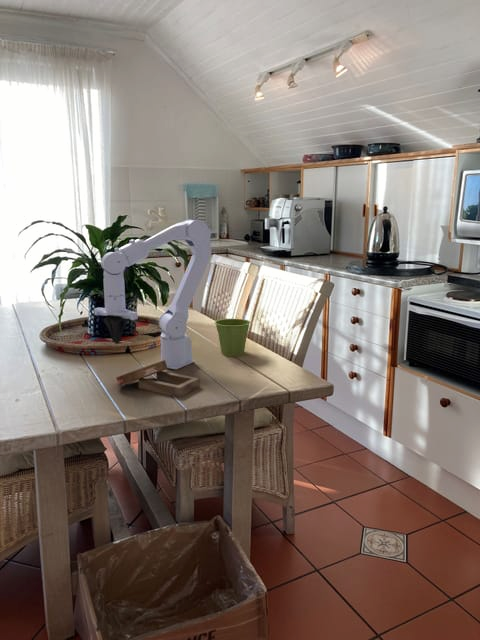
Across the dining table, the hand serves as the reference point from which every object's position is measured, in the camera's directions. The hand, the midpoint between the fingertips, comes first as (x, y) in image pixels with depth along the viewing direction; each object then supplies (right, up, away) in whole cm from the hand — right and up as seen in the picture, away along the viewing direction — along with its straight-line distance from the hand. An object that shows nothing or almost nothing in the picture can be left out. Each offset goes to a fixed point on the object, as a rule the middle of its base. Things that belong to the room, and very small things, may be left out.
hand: (116, 341), depth 151 cm
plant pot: (+33, -6, +21) cm, 39 cm away
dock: (+16, -12, -10) cm, 22 cm away
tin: (+6, -10, -6) cm, 13 cm away
